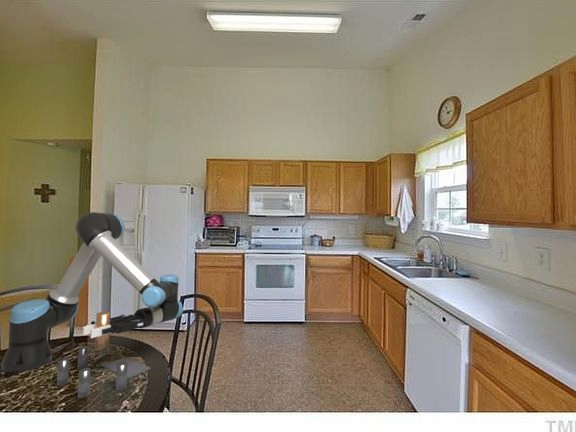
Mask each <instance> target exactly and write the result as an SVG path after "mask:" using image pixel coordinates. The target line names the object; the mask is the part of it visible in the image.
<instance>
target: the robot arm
mask: <svg viewBox="0 0 576 432" xmlns="http://www.w3.org/2000/svg"><path fill="white" fill-rule="evenodd" d="M75 231H76V234H77V237H78V238H79V239H80V240H81V241H82V244H81V246H80V247H79V249H78V251H77V253H76V255H75V256H74V258H73V259H72V261H71V263H70V265H69V266H68V268H67V270H66V272H65V274H64V275H63V277H62V279H61V280H60V281H59V283H58V284H57V287H56V288H55V289H50V291H49V292H48V294H47V296H46V298H45V299H44V298H42V299H40V298H39V299H32V300H27V301H23V302H20V303H18V304H16V305H14V306H13V307H12V308H11V310H10V316H9V329H8V330H9V331H8V347H7V349H6V351H5V354H4V356H3V358H2V361H1V366H0V370H1V372H3V373H20V372H26V371H30V370H34V369H38V368H41V367H43V366H45V365H48V364H49V363H50V362H52V359H53V352H52V349H51V346H50V344H49V341H48V334H49V333H48V331H49V330H50V329H53V328H55V327H57V326H60V325H62V324H65V323H67V322H69V321H70V320H71V319H73V318H74V317H75V316H76V315H77V313H78V311H79V309H80V308H79V307H80V306H79V301H80V297H79V296H78V295H79V294H80V292H81V290H82V289H83V287H84V285H85V283H87V280H88V278H89V277H90V275H91V273H92V272H93V270H94V269H95V267H96V265H97V264H98V261H99V260H100V258H101V257H102V258H104V260H105V261H106V262H107V263H108V264H109V265H111V267H112V268H113V269H115V271H117V273H119V274H120V275H121V276H122V277H123V278H124V280H126V281H127V282H128V284H130V285H131V286H133V288H134V289H135V290H136V291H137V292H138V293H139V294H140V295H141V301H142V303H143V304H144V305H145V307H143V308H139V309H137V310H136V311H135V313H134V314H128V315H126V314H121V315H119V316H114V317H111V319H110V325H108V326H104V327H100V328H96V323H94V324H88V325H86V326H85V325H84V326H82V336H86V335H90V336H89V338H90V339H94V338H95V337H98V336H101V335H105V334H109V333H110V334H114V333H115V334H117V335H118V334H121V333H122V334H123V333H126V332H129V331H131V330H136V329H144V328H148V327H150V326H154V327H155V325H158V324H161V323H164V322H165V323H166V322H169V321H174V320H176V319H178V318H179V317H182V314H183V312H184V307H183V304H182V302H181V301H179V300H178V299H179V298H178V297H179V276H178V275H176V274H163V275H161V276H160V278H159V281H158V280H157V279H156V278H155V277H154V276H153V275H152V274H151V273H150V272H149V271H148V270H147V269H146V268H145V267H144V266H143V265H142V264H141V263H139V261H137V259H135V257H133V255H131V253H129V252H128V250H126V249H125V248H124V247H123V246H122V245H121V244H120V243H119V242H118V241H117V239H119V238H120V237H122V236H123V235H124V232H125V224H124V221H123V219H122V218H121V217H120V216H119V215H118V214H114V213H110V212H96V211H95V212H94V211H92V212H87V213H85V214H83V215H81V216H80V217H79V218H78V220H77V221H76V224H75Z"/></svg>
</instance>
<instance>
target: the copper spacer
mask: <svg viewBox="0 0 576 432" xmlns="http://www.w3.org/2000/svg"><path fill="white" fill-rule="evenodd" d="M111 314H112V312H111V311H100V312H97V313H96V321H95V324H96V328H100V327H104V326H108V325H110V319H111V318H112V316H111ZM110 335H111V333H109V334H105V335H101V336H98V337H94V338H95V339H94V341H95V342H94V349H95V350H99V351H100V350H106V349H108V348H109V347H110V338H111V337H110Z"/></svg>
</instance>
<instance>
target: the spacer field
mask: <svg viewBox="0 0 576 432" xmlns="http://www.w3.org/2000/svg"><path fill="white" fill-rule="evenodd" d="M89 348H90V347H89V345H83V346H79V347H78V349H77V350H78V351H77V371H78V382H77V383H78V385H77V398H79V399H84V398H87V397H89V396H90V395H91V377H92V376H91V375H92V369H91V367H89V365H88V364H89ZM127 365H128V363H127V362H120V363H118V364H117V372H116V373H115V374H116V376H115V377H116V378H115V390H116V391H124V390H126V389H127V385H128V383H127V382H128V378H127ZM56 371H57V375H56V386H64V385H67V384H68V383H69V376H70V375H69V374H70V373H69V372H70V357H63V358H62V357H61V358H59V359H57V370H56Z"/></svg>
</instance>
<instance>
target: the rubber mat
mask: <svg viewBox="0 0 576 432" xmlns="http://www.w3.org/2000/svg"><path fill="white" fill-rule="evenodd" d="M120 362H127V363H128V365H127V380H128V379H131V378H133V377H136V376H137V375H138V376H139V375H140V374H143V373H145V372H147V371H150V370H151V369H152V368H151V367H150V366H147V365H145V364H143V363H140V362H138V361H135V360H133V359H130V358H127V357H122V358H119V359H116V360H113V361H111V362H107V363H105V364H102V365H101V368H104V369H106V370H108V371H110V372H112V373H114V374H116V372H117V364H118V363H120Z"/></svg>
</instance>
